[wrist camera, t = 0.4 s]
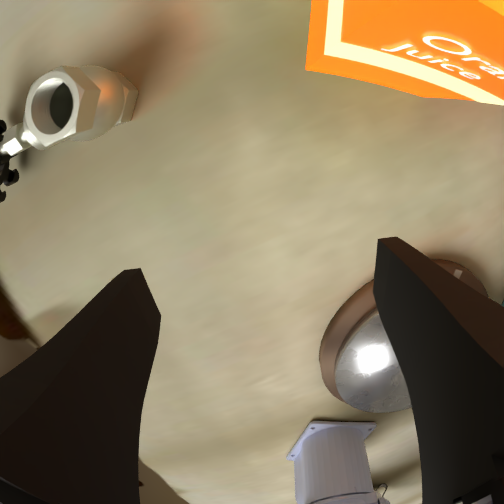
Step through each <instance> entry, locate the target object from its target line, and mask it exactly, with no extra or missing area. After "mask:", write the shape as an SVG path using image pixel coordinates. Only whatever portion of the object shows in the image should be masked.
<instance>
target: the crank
mask: <svg viewBox="0 0 504 504" xmlns="http://www.w3.org/2000/svg"><path fill="white" fill-rule="evenodd" d="M334 376H335V382H336V387H337V390H338V392H339V394H340V396H341V397H342V399H343V400H344V401H345V402H346V403H348V404H349V405H351V406H352V407H354V408H357V409H359V410H363V411H367V412H375V413H385V412H395V411H400V410H404V409H408V408H411V407H412V405H411V401H410V397H409V392H408V388H407V385H406V382H405V379H404V376H403V374H402V371H401V368H400V366H399V363H398V361H397V358H396V356H395V353H394V351H393V348H392V346H391V343H390V341H389V339H388V336H387V334H386V331H385V329H384V327H383V324H382V322H381V319H380V316H379V312H378V309H377V307H375V308H374V309H372V310H371V311H370V312H369V313H368V314H366V315H365V316H364V317H363V318H362V319H361V320H360V321H359V322H358V323H357V324H356V325H355V326H354V327H353V328H352V329H351V331H350V332H349V333H348V335H347V336H346V337H345V339H344V341H343V342H342V344H341V346H340V348H339V350H338V352H337V355H336V359H335V363H334Z"/></svg>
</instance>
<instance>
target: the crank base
mask: <svg viewBox="0 0 504 504" xmlns="http://www.w3.org/2000/svg"><path fill="white" fill-rule="evenodd" d="M431 260H432V261H433V262H435V263H436V264H438V265H439V266H441V267H442V268H443V269H445V270H446V271H448V272H449V273H451V274H452V275H453V276H455V277H456V278H458V279H459V280H461V281H462V282H464V283H465V284H467V285H468V286H470V287H472V288H473V289H475V290H476V291H478V292H479V293H481V294H482V295H484V296H486V297H487V298H488V294H487V292H486V289H485V288H484V286H483V285H482V283H481V282H480V281H479V280H478V279H477V278H476V277H475V276H474V275H473V274H472V273H471V272H470V271H469V270H468V269H467V268H465V267H463V266H462V265H460V264H457V263H455V262H452V261H446V260H433V259H431ZM373 284H374V280H372V281H370V282H369V283H367V284H366V285H365V286H363V287H362V288H361V289H359V290H358V291H357V292H356V293H355V294H354V295H353V296H351V297H350V298H349V299H348V300H347V301H346V302H345V303H344V304H343V306H342V307H341V308H340V309H339V310H338V311H337V313H336V314H335V316H334V317H333V318H332V320H331V321H330V323H329V325H328V327H327V329H326V331H325V333H324V336H323V338H322V341H321V346H320V351H319V361H320V367H321V373H322V378H323V381H324V383H325V385H326V387H327V388H328V390H329V391H330V392H331V393H332V394H333V395H334V396H335V397H336V398H338V399H339V400H341V401H343V402H345V401H344V400H343V399H342V397H341V396H340V394H339V392H338V390H337V387H336V382H335V376H334V363H335V359H336V355H337V352H338V350H339V348H340V346H341V344H342V342H343V341H344V339H345V337H346V336H347V335H348V333H349V332H350V331H351V329H352V328H353V327H354V326H355V325H356V324H357V323H358V322H359V321H360V320H361V319H362V318H363V317H364V316H365V315H366V314H368V313H369V312H370V311H371V310H372V309H374V308H375V307H377V306H376V302H375V298H374V295H373ZM345 403H346V402H345ZM347 404H348V403H347Z"/></svg>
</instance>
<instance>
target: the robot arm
mask: <svg viewBox="0 0 504 504" xmlns="http://www.w3.org/2000/svg"><path fill="white" fill-rule="evenodd" d="M373 295H374V298H375V302H376V306H377V309H378V312H379V316H380V319H381V322H382V324H383V327H384V329H385V331H386V334H387V336H388V339H389V341H390V343H391V346H392V348H393V351H394V353H395V356H396V358H397V361H398V363H399V366H400V368H401V371H402V374H403V376H404V379H405V382H406V385H407V388H408V392H409V397H410V401H411V405H412V410H413V414H414V419H415V425H416V431H417V437H418V443H419V451H420V460H421V471H422V504H458V503H460V502H462V503H463V504H504V307H503V306H501V305H500V304H498V303H496V302H494V301H493V300H491V299H489V298H487V297H486V296H484V295H482V294H481V293H479V292H478V291H476V290H475V289H473V288H472V287H470V286H468V285H467V284H465V283H464V282H462V281H461V280H459V279H458V278H456V277H455V276H453V275H452V274H451V273H449V272H448V271H446V270H445V269H443V268H442V267H441V266H439V265H438V264H436V263H435V262H433V261H432V260H431V259H429V258H428V257H426V256H425V255H424V254H422V253H421V252H419V251H418V250H416V249H415V248H414V247H412V246H411V245H409V244H408V243H406V242H405V241H403V240H401V239H400V238H398V237H389V238H381V239H378V244H377V256H376V266H375V275H374V284H373ZM160 322H161V314H160V312H159V310H158V308H157V305H156V303H155V301H154V299H153V296H152V294H151V292H150V289H149V287H148V285H147V282H146V280H145V278H144V275H143V273H142V270H141V268H138V269H130V270H124V271H122V272H121V273H120V274H118V275H117V276H116V277H115V278H114V279H113V280H112V281H111V282H109V283H108V284H107V285H106V286H105V287H104V288H103V289H102V290H101V291H100V292H99V293H98V294H97V295H96V296H95V297H94V298H93V299H92V300H91V301H90V302H89V303H88V304H87V305H86V306H85V307H84V308H83V309H82V310H81V311H80V312H79V313H78V314H77V315H76V316H75V317H74V318H73V319H72V320H70V321H69V322H68V323H67V324H66V325H65V326H64V327H63V328H62V329H61V330H60V331H59V332H58V333H57V334H56V335H55V336H54V337H53V338H51V339H50V340H49V341H48V342H47V343H46V344H45V345H43V346H42V347H41V348H40V349H39V350H37V351H36V352H35V353H34V354H33V355H31V356H30V357H29V358H27V359H26V360H25V361H23V362H22V363H21V364H19V365H18V366H16V367H15V368H14V369H12V370H11V371H10V372H8V373H7V374H5V375H4V376H2V377H1V378H0V504H140V497H139V481H138V453H139V434H140V423H141V413H142V408H143V402H144V398H145V393H146V389H147V385H148V381H149V377H150V373H151V369H152V365H153V361H154V357H155V353H156V349H157V345H158V338H159V331H160ZM376 426H377V425H376V423H375V422H329V421H312V422H310V423H309V425H308V426H307V428H306V429H305V431H304V432H303V434H302V435H301V437H300V438H299V440H298V441H297V442H296V444H295V445H294V447H293V448H292V450H291V451H290V452H289V454H288V455H287V457H286V459H287V460H293V461H294V475H295V497H296V501H297V504H390V502H389V501H388V500H386V499H385V498H383V497H381V498H378V501H377V495H376V492H374V490H373V484H372V479H371V473H370V468H369V463H368V458H367V453H366V448H365V443H364V440H365V439H366V437H367V436H368V435H369V434H370V433H371V432H372V431H373V430H374V429H375V428H376Z"/></svg>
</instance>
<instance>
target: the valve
mask: <svg viewBox="0 0 504 504" xmlns="http://www.w3.org/2000/svg"><path fill="white" fill-rule="evenodd" d="M138 92H139V91H138V90H137V89H136V88H135V87H134V86H133V85H132V84H131V83H130V82H129V81H128V80H127V79H126V78H125V77H124V76H123V75H122V74H121V73H120V72H114V71H109V70H108V69H105V68H103V67H100V66H94V65H89V66H82V67H69V66H60V67H58V68H56V69H54V70H52V71H50V72H48V73H46V74H45V75H43V76H41V77H40V78H38V79H37V80H36V81H34V82H33V83H32V84H31V87H30V90H29V93H28V97H27V101H26V107H25V114H24V118H23V123H19V124H16V125H14V126H13V127H11V128H10V129H8V130H7V131H6V129H7V126H6V123H5V122H4V121H3V120H0V185H1V184H2V183H4V184H5V185H6V186H10V185H12V184H14V183H16V182H17V181H18V180H19V173H18V171H17V169H14V170H13V171H12V170H10V169H9V160H10V159H11V158H12V157H14V156H16V155H17V154H18V153H20V152H22V151H24V150H26V149H28V148H29V147H31V146H33V147H35V148H36V149H39V150H45V149H48V148H50V147H52V146H54V145H56V144H58V143H60V142H63V141H65V140H67V139H70V140H73V141H89V140H93V139H96V138H98V137H100V136H102V135H104V134H105V133H107V132H108V131H109V130H110V129H111V128H112V127H115V126H118V125H120V124H123V123H126V122H129V121H131V119H132V115H133V111H134V107H135V103H136V100H137V96H138ZM4 132H5V134H4V135H2V133H4ZM5 198H6V191H4V192H1V190H0V203H1V202H3V201H4V200H5Z"/></svg>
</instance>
